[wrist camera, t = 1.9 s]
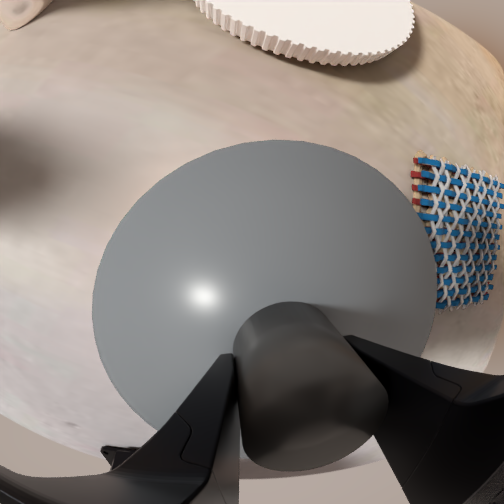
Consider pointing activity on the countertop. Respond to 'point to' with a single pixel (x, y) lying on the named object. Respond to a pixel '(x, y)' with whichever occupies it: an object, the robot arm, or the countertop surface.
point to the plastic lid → (317, 27)
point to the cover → (267, 294)
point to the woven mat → (459, 227)
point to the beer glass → (20, 12)
